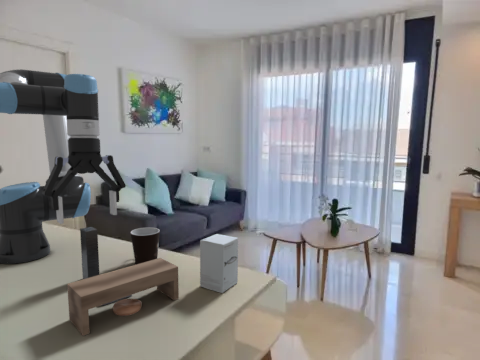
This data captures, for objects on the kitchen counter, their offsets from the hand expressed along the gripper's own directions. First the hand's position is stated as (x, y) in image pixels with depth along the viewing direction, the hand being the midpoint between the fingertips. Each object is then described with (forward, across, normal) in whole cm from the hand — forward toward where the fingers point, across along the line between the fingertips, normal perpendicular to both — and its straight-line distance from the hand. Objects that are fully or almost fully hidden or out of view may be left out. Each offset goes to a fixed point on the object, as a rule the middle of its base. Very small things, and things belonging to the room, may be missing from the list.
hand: (88, 218), depth 88 cm
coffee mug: (+17, +18, +2) cm, 25 cm away
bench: (+17, 0, -21) cm, 27 cm away
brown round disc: (+18, 0, -21) cm, 27 cm away
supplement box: (+18, +23, -26) cm, 39 cm away
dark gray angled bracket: (+17, 0, -7) cm, 18 cm away
